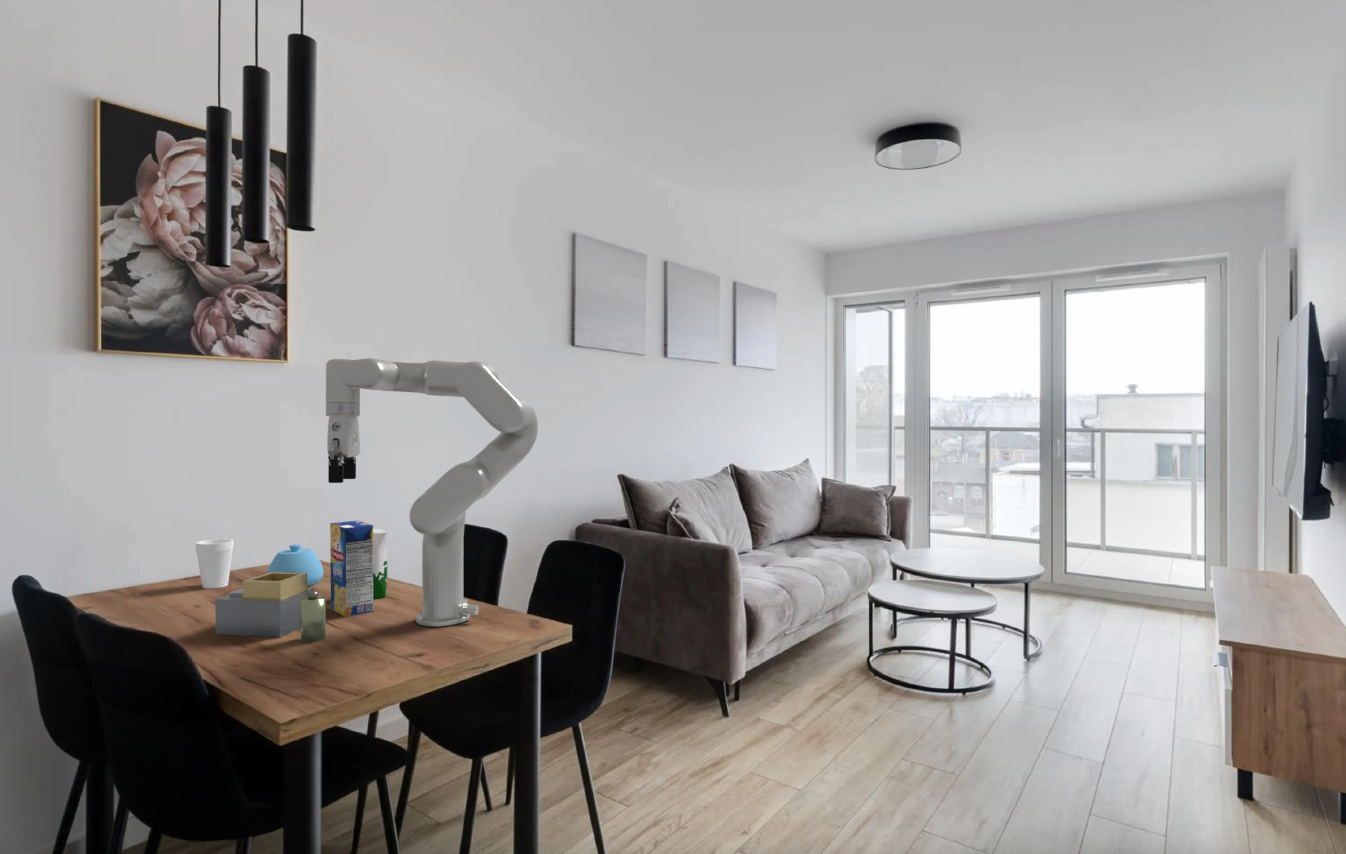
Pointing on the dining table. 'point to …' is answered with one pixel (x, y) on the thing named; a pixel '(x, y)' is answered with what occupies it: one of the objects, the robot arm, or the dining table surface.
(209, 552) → the foam cup
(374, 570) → the milk carton
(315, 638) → the green bottle
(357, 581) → the beverage box
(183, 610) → the dining table surface
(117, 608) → the dining table surface
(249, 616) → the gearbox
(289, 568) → the sugar bowl
